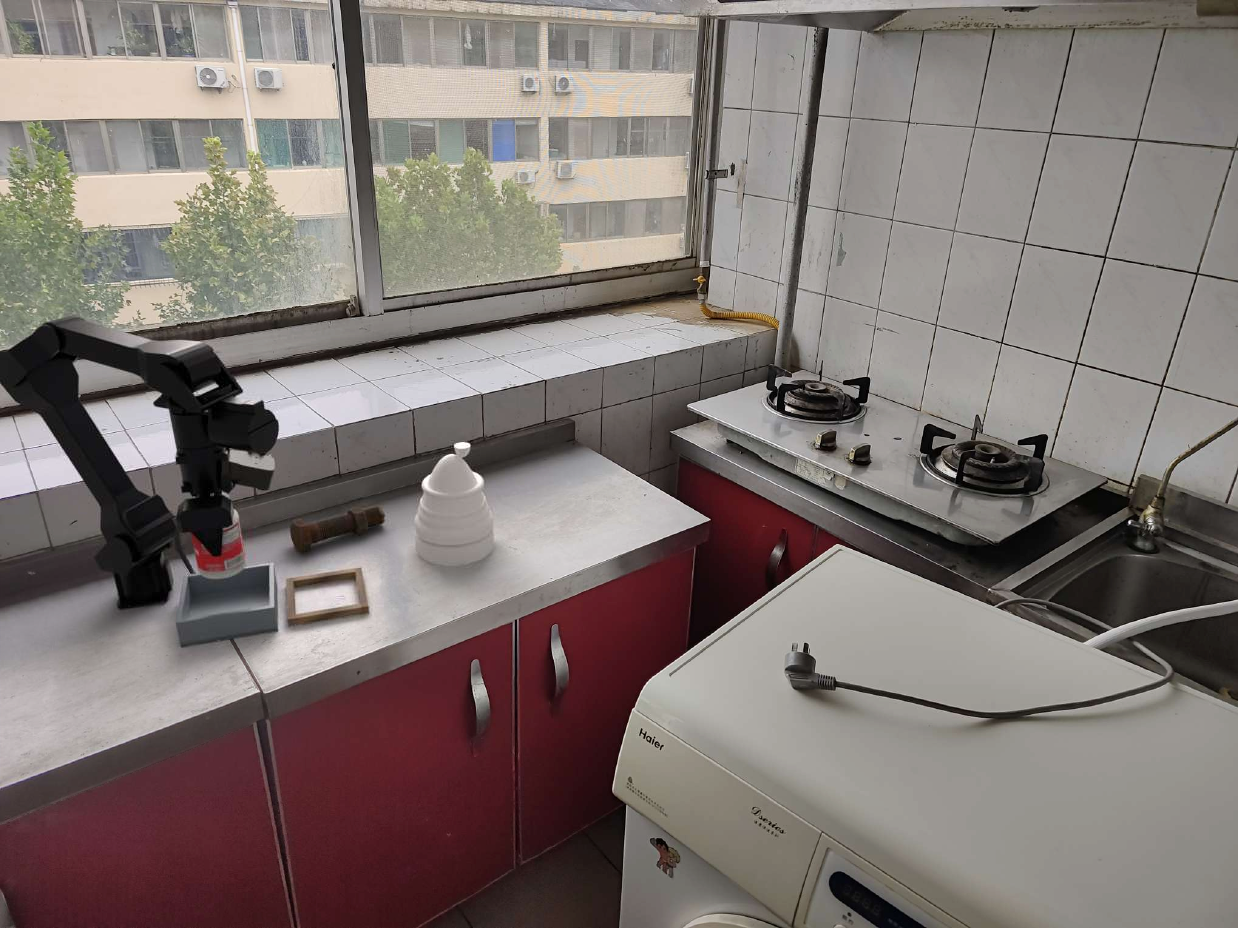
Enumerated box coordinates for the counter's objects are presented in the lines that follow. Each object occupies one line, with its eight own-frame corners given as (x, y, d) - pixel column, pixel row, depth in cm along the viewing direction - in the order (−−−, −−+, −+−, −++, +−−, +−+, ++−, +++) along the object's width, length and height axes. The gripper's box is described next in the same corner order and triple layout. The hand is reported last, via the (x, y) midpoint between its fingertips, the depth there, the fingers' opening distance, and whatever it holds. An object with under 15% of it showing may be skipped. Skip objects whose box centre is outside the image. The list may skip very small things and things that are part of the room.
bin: (181, 647, 112) (175, 622, 110) (188, 598, 122) (183, 575, 120) (278, 630, 116) (274, 607, 114) (277, 584, 126) (273, 562, 124)
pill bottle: (206, 558, 118) (192, 488, 113) (251, 556, 119) (240, 487, 114) (192, 581, 112) (178, 510, 108) (240, 579, 113) (228, 508, 109)
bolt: (384, 535, 145) (299, 559, 135) (372, 513, 147) (288, 535, 137) (391, 516, 141) (304, 539, 131) (379, 493, 143) (292, 515, 133)
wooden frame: (288, 626, 117) (287, 619, 116) (287, 585, 126) (286, 578, 125) (369, 612, 121) (368, 606, 120) (362, 573, 130) (361, 567, 129)
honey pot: (474, 520, 147) (471, 426, 139) (506, 553, 137) (505, 454, 130) (404, 537, 140) (397, 440, 133) (433, 573, 131) (427, 471, 123)
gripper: (266, 463, 102) (282, 570, 109) (266, 409, 118) (280, 506, 125) (165, 473, 98) (188, 583, 105) (179, 416, 114) (198, 515, 121)
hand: (218, 544), depth 114 cm, fingers closed on pill bottle, 6 cm apart
